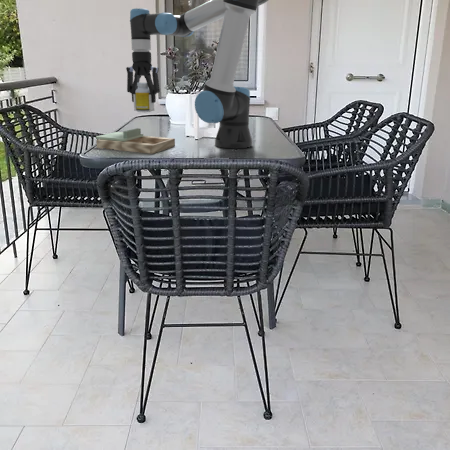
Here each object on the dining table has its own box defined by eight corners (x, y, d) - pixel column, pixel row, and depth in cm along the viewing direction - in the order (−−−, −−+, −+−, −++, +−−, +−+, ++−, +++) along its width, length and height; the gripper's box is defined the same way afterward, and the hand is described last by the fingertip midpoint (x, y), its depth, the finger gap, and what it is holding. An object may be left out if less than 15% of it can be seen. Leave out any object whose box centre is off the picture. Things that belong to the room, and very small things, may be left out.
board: (174, 146, 189) (174, 138, 188) (152, 153, 173) (152, 145, 172) (122, 141, 197) (122, 133, 196) (96, 147, 181) (96, 139, 180)
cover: (143, 136, 191) (143, 128, 189) (124, 141, 178) (124, 132, 177) (116, 133, 195) (116, 125, 194) (95, 138, 182) (95, 129, 181)
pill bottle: (149, 112, 193) (147, 83, 190) (133, 112, 195) (132, 82, 191) (154, 111, 199) (153, 82, 196) (139, 111, 201) (138, 82, 197)
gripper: (167, 51, 190) (169, 110, 197) (125, 51, 196) (128, 109, 203) (158, 50, 183) (160, 112, 190) (115, 51, 189) (119, 110, 197)
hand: (144, 110), depth 197 cm, fingers closed on pill bottle, 6 cm apart
